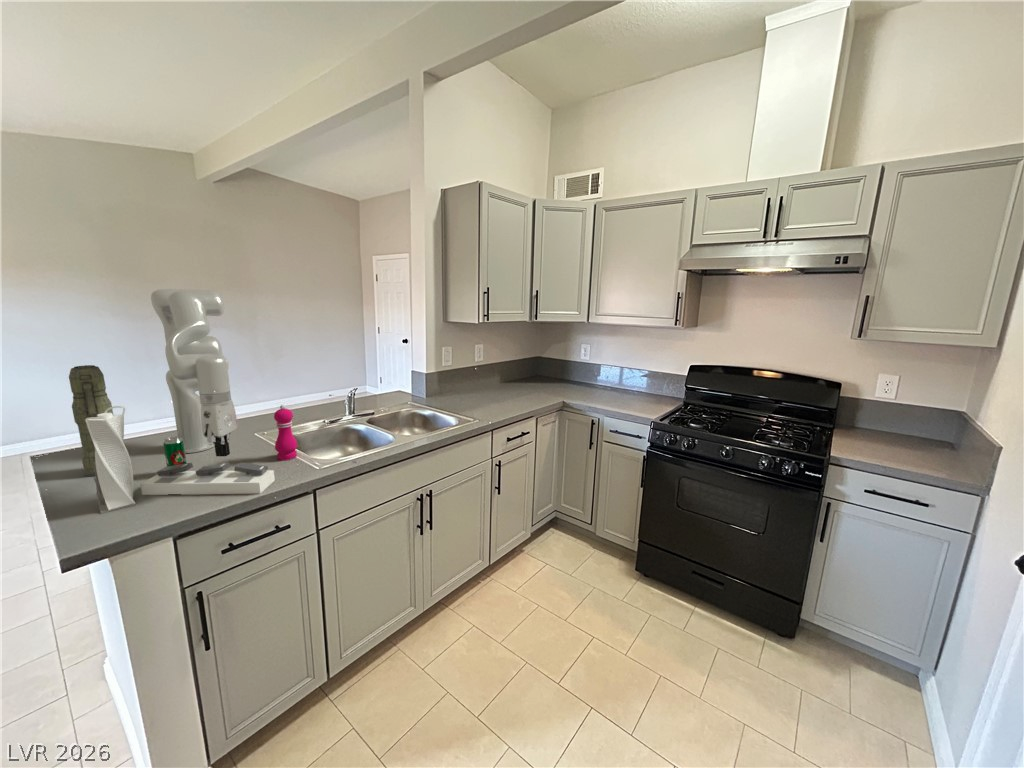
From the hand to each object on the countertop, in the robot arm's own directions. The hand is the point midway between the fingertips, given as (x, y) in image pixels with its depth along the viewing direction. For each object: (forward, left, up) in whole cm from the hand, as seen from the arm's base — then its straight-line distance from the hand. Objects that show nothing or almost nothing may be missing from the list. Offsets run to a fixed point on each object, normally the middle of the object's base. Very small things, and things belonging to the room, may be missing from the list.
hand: (223, 455), depth 125 cm
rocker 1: (-14, 0, -5) cm, 15 cm away
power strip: (-3, -2, -10) cm, 11 cm away
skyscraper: (-21, -12, -10) cm, 26 cm away
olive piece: (-44, +11, -10) cm, 47 cm away
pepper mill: (+9, +22, -10) cm, 26 cm away
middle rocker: (-3, 0, -5) cm, 6 cm away
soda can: (-20, +9, -10) cm, 25 cm away
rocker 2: (+8, 0, -5) cm, 9 cm away
